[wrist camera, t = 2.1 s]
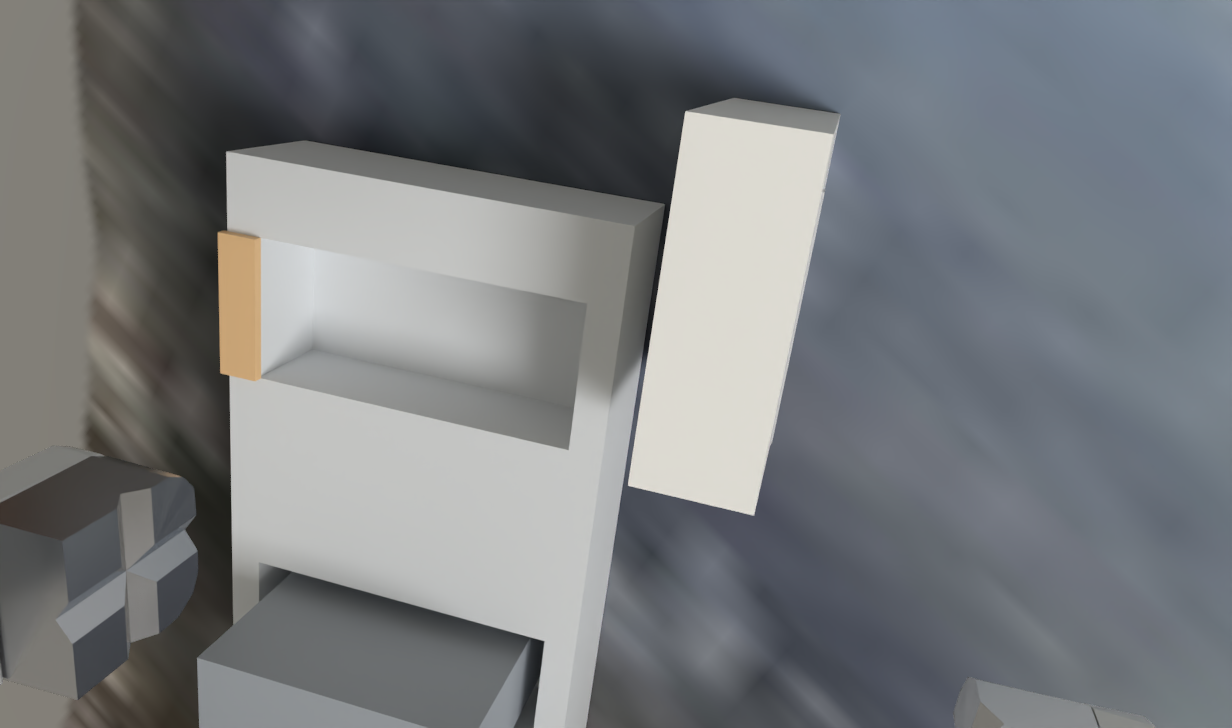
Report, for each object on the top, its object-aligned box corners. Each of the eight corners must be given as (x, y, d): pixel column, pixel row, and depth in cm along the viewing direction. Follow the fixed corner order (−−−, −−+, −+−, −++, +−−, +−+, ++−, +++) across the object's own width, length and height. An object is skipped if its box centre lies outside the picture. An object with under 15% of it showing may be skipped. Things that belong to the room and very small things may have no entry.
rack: (665, 204, 27) (593, 256, 20) (584, 733, 34) (509, 918, 27) (299, 139, 30) (113, 164, 22) (293, 647, 36) (149, 796, 29)
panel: (732, 97, 26) (682, 111, 19) (842, 113, 25) (836, 134, 18) (685, 377, 29) (625, 485, 21) (782, 397, 28) (755, 516, 21)
